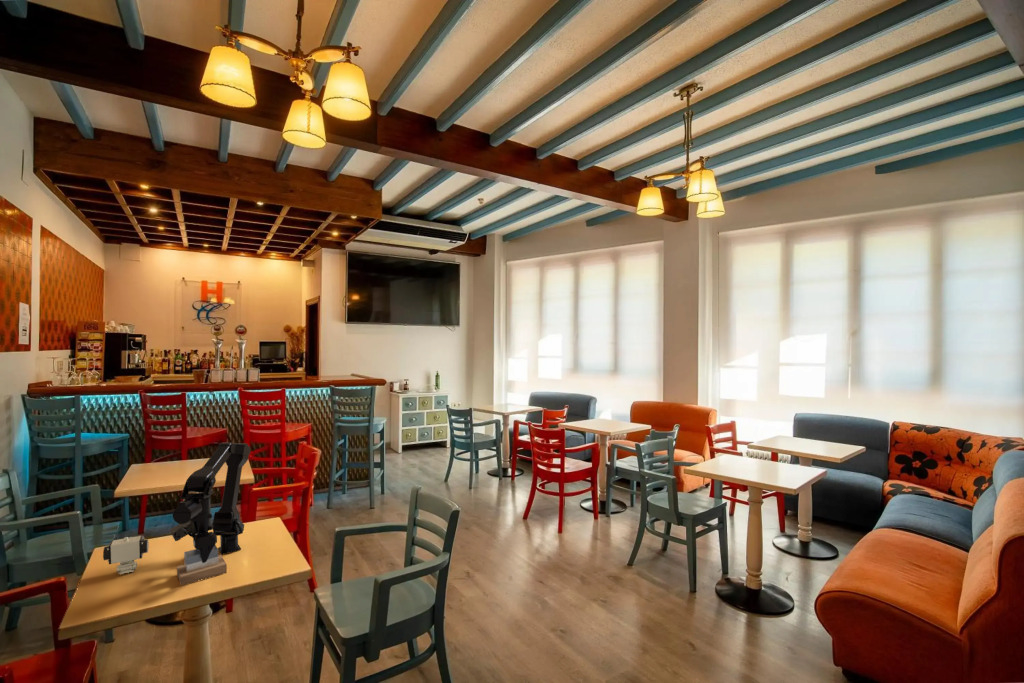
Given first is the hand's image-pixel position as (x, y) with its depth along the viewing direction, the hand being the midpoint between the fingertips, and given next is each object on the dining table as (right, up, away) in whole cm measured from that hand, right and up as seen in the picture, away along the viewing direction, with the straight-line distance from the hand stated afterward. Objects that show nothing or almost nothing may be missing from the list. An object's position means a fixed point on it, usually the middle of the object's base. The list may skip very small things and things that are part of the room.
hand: (201, 557), depth 168 cm
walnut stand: (0, -6, 0) cm, 6 cm away
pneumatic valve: (-26, -6, +2) cm, 27 cm away
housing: (0, -3, 0) cm, 3 cm away
